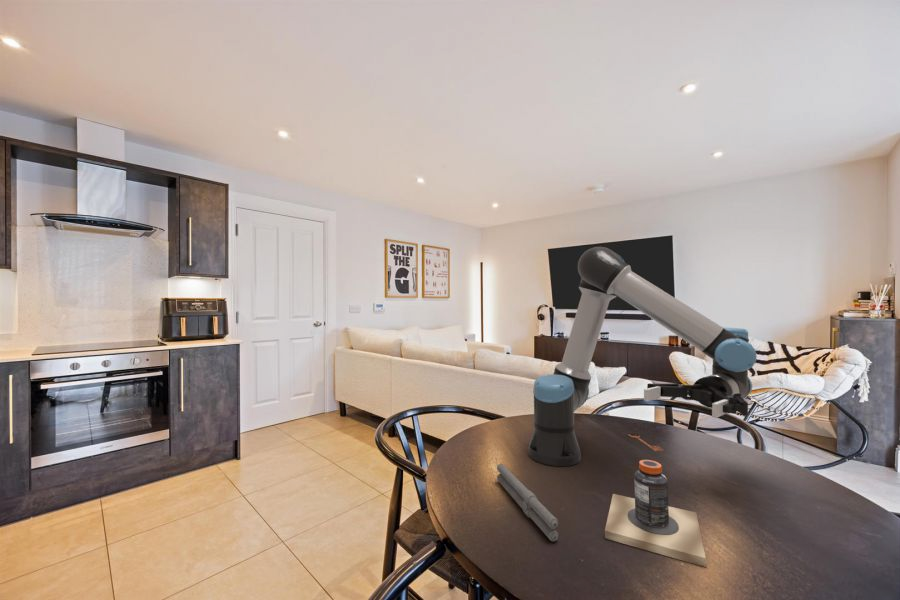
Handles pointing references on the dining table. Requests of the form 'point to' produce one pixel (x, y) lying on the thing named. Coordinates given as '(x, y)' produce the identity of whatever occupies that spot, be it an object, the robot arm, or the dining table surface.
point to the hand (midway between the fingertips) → (677, 402)
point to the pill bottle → (651, 494)
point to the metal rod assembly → (528, 503)
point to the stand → (656, 532)
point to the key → (646, 443)
